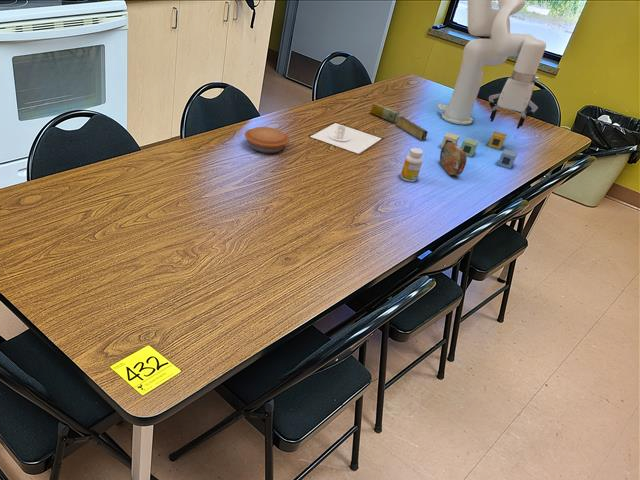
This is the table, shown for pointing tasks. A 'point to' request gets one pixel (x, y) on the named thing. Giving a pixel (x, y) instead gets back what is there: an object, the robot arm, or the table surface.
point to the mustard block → (497, 140)
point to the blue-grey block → (507, 158)
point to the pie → (266, 139)
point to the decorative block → (412, 128)
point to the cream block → (450, 139)
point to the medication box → (385, 112)
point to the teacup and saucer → (346, 138)
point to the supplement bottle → (412, 165)
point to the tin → (453, 158)
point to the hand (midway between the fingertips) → (504, 124)
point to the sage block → (469, 146)
